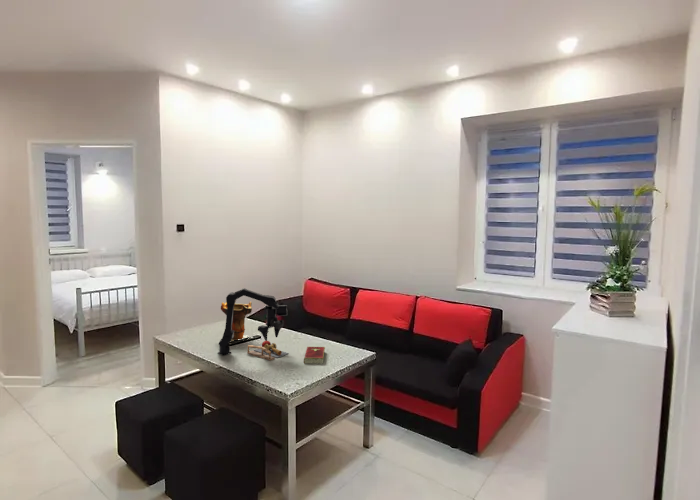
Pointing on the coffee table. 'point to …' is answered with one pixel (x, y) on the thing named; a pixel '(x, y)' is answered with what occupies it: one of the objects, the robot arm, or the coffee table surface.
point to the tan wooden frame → (260, 353)
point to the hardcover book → (314, 355)
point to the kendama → (271, 347)
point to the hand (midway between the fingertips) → (271, 339)
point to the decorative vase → (238, 318)
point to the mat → (271, 353)
